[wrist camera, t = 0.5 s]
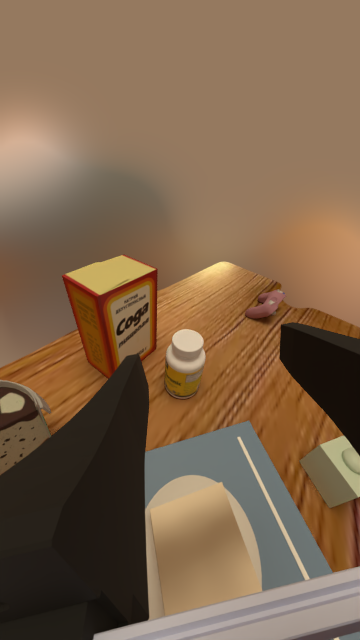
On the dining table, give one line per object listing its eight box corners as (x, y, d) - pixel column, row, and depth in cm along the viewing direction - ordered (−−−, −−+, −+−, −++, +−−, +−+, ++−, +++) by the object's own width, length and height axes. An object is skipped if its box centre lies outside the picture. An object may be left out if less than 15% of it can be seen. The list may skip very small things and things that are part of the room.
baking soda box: (131, 332, 40) (123, 252, 30) (156, 348, 38) (157, 266, 28) (88, 361, 34) (60, 272, 24) (114, 383, 31) (96, 293, 21)
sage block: (359, 493, 23) (395, 478, 20) (329, 508, 22) (362, 495, 18) (326, 450, 26) (353, 430, 23) (298, 461, 25) (322, 442, 22)
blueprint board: (377, 662, 15) (417, 677, 13) (34, 957, 9) (-5, 1082, 7) (247, 422, 28) (255, 409, 26) (71, 476, 22) (61, 465, 20)
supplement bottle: (158, 377, 33) (159, 331, 27) (187, 365, 35) (194, 321, 29) (174, 406, 29) (180, 361, 23) (205, 391, 32) (218, 346, 25)
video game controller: (256, 328, 47) (281, 312, 42) (242, 314, 47) (264, 296, 42) (269, 309, 53) (292, 293, 48) (257, 297, 54) (278, 279, 49)
